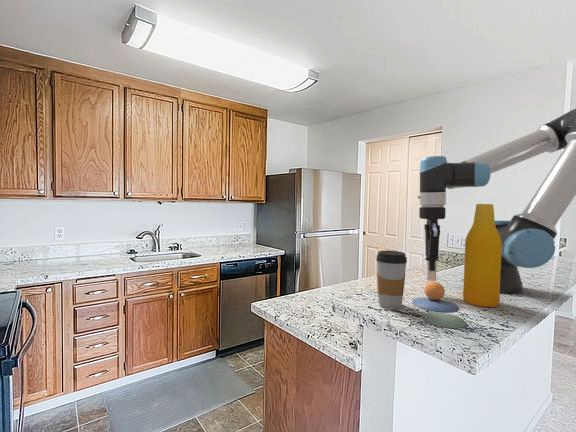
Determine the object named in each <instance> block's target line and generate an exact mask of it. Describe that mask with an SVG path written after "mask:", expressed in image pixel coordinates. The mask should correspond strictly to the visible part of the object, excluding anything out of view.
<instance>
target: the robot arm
mask: <svg viewBox="0 0 576 432" xmlns="http://www.w3.org/2000/svg"><path fill="white" fill-rule="evenodd" d="M562 149H563V151H561V153H560V155H559V156H558V158H557V159H556V161H555V162H554V164H553V165H552V167H551V169H550V170H549V171H548V173H547V174H546V176H545V178H544V179H543V180H542V182H541V184H540V186H539V187H538V188H537V190H536V191H535V193H534V195H533V196H532V198H531V199H530V201H529V202H528V204H527V205H526V207H525V208H524V210H523V211H522V212H521V213H517V214H514V215H513V216H512V218H511V219H510V220H495V226H496V229H497V231H498V233H499V235H500V237H501V241H502V252H501V274H500V294H501V293H502V294H504V293H505V294H518V293H522V292H523V287H524V285H523V282H522V279H521V278H522V277H521V275H520V271H519V269H518V267H519V268H525V269H534V268H539V267H541V266H544V265H546V264H547V263H549V261H550V260H551V259H552V258H553V257H554V255H555V251H556V246H555V240H554V239H555V238H556V236H557V234H558V231H557V229H556V225H557V223H558V222H559V220H560V219H561V218H562V216H563V215H564V213H565V212H566V210H567V208H568V207H569V206H570V204H571V202H572V201H574V200H573V199H574V198H575V196H576V108H574V109H571V110H569V111H568V112H566V113H564V114H562V115H561V116H559V117H557V118H555V119H553V120H550V121H549V122H547V123H545V124H542V125H539V127H537V129H536V131H533V132H531V133H529V134H526V135H523V136H521V137H518V138H517V139H514V140H511V141H508V142H507V143H504V144H502V145H499V146H497V147H495V148H492V149H489V150H487V151H485V152H482V153H480V154H477V155H475V156H473V157H470V158H467V159H466V160H463V161H461V162H448V160H447V157H446V156H444V155H431V156H430V155H429V156H425V157H422V159H421V160H420V163H419V165H420V166H419V167H420V168H419V195H417V199H418V200H419V205H420V207H419V209H418V210H419V211H418V212H419V219H421V220H422V219H423V220H426V224H424V226H423V228H424V234H425V235H424V239H425V242H424V243H425V258H424V260H425V261H426V273H425V275H426V276H425V277H426V281H429V282H437V261H438V260H439V248H440V237H441V235H440V234H441V225H440V224H439V221H438V220H444V219H445V218H446V211H447V210H446V205H447V189H449V190H452V189H459V188H460V189H461V188H478V187H479V188H481V187H485V186H487V185H488V183H490V182H489V181H490V180H491V174H493V173H496V172H499V171H501V170H503V169H506V168H509V167H511V166H515V165H517V164H519V163H521V162H524V161H527V160H529V159H531V158H533V157H534V158H535V157H537V156H538V155H541V154H544V153H550V154H551V153H555V152H557V151H560V150H562ZM444 206H445V207H444Z"/></svg>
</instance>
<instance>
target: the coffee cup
mask: <svg viewBox="0 0 576 432" xmlns="http://www.w3.org/2000/svg"><path fill="white" fill-rule="evenodd" d="M377 252H378V253H377V255H376V260H375V261H376V285H377V288H376V289H377V301H378V305H379V306H381V307H382V308H384V309H390V308H392V309H393V308H394V309H396V308H397V309H400V308H401V306H402V305H403V297H404V289H405V281H406V267H407V263H408V260H407V259H408V258H407V257H408V256H406V253H405V252H402V251H397V250H379V251H377ZM392 309H391V310H392ZM394 309H393V310H394Z"/></svg>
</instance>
